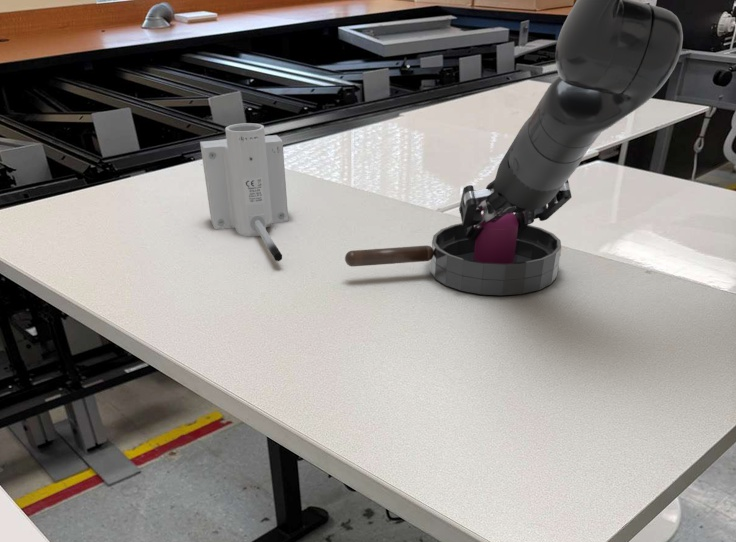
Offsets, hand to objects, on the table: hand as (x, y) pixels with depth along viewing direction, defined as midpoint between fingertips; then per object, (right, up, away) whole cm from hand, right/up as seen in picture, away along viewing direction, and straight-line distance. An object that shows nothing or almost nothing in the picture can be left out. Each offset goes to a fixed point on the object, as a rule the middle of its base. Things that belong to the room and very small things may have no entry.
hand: (491, 232), depth 97 cm
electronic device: (-33, +4, +14) cm, 36 cm away
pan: (+1, -5, +2) cm, 5 cm away
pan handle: (-14, -5, -1) cm, 15 cm away
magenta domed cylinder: (0, -4, +1) cm, 5 cm away
